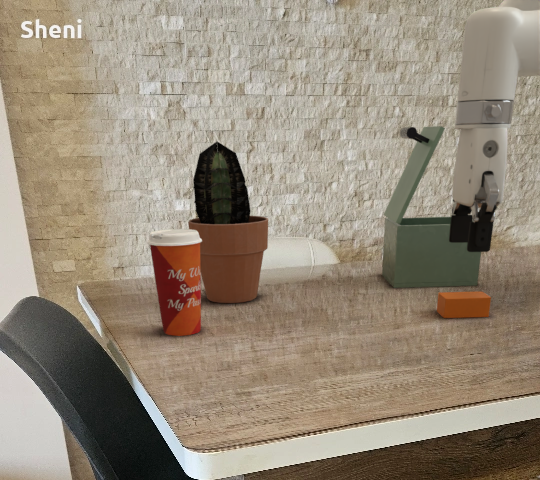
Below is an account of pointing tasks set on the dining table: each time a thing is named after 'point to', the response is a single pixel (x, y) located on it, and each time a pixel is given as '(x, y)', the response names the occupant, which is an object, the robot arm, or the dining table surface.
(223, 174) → the potted plant
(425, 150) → the bin lid
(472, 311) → the block
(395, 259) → the waste bin
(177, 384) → the dining table surface
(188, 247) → the paper cup
